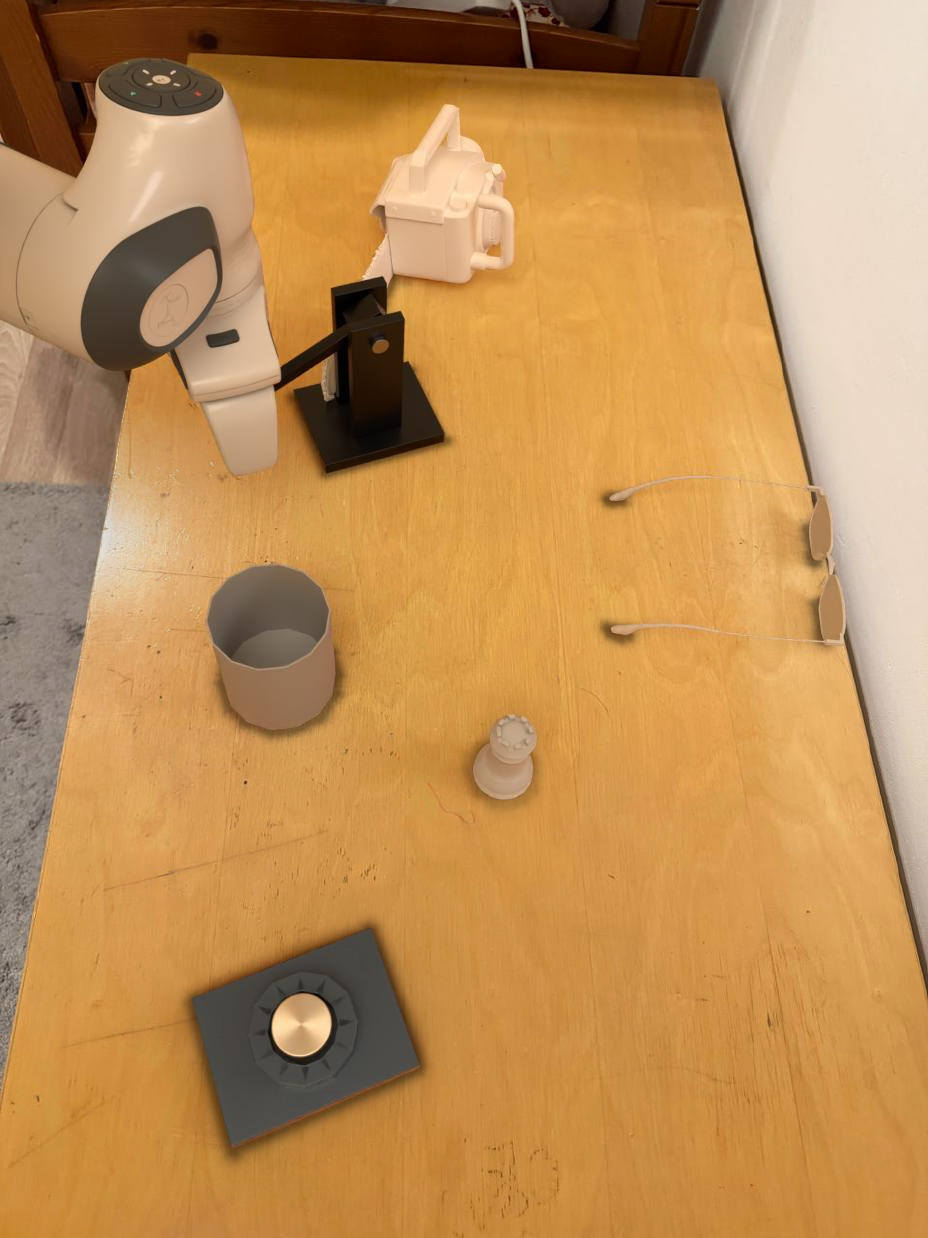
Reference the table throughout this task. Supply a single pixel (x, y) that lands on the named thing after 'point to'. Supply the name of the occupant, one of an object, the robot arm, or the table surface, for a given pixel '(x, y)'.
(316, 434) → the press bracket
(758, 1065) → the table surface
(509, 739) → the rook chess piece
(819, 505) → the eyeglasses
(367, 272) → the chainsaw
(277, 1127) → the button block
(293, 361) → the press lever
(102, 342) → the robot arm
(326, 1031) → the gold dial knob
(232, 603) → the cup
